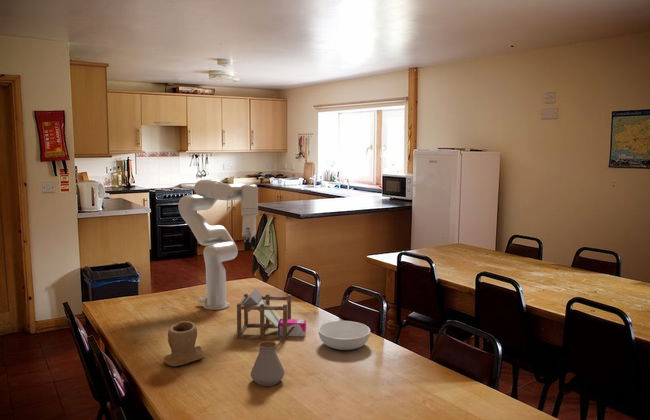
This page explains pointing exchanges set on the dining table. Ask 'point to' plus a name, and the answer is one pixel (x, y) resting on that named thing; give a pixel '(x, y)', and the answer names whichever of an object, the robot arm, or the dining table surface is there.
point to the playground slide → (257, 300)
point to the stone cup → (183, 344)
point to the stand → (286, 313)
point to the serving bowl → (344, 334)
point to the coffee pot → (268, 363)
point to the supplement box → (297, 323)
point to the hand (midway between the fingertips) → (250, 248)
